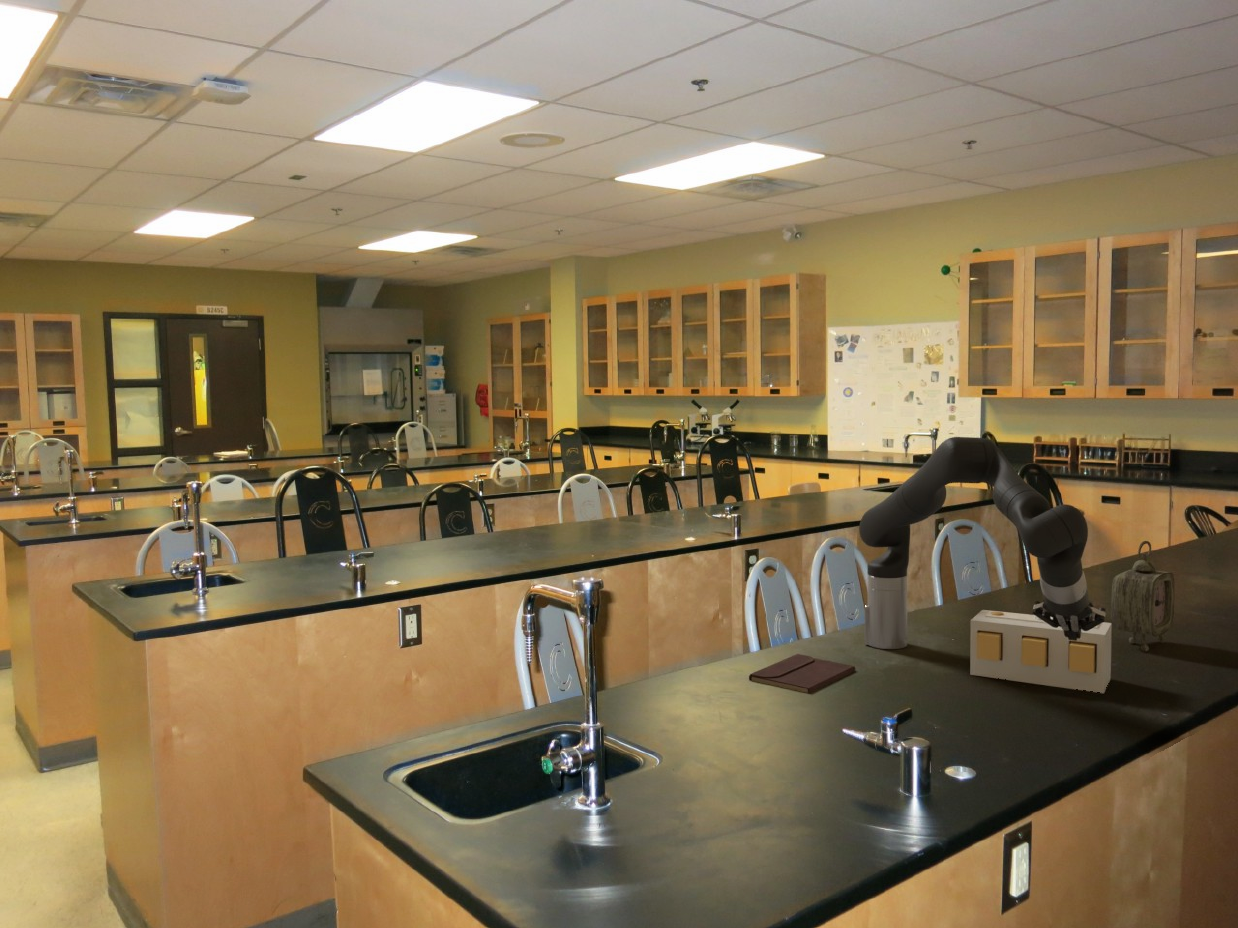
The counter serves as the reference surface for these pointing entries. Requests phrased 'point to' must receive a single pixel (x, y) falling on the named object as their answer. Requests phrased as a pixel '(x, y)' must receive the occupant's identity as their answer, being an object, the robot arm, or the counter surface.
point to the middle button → (1034, 651)
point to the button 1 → (989, 645)
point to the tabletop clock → (1143, 600)
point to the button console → (1057, 652)
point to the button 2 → (1082, 657)
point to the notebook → (802, 673)
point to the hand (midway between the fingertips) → (1073, 636)
